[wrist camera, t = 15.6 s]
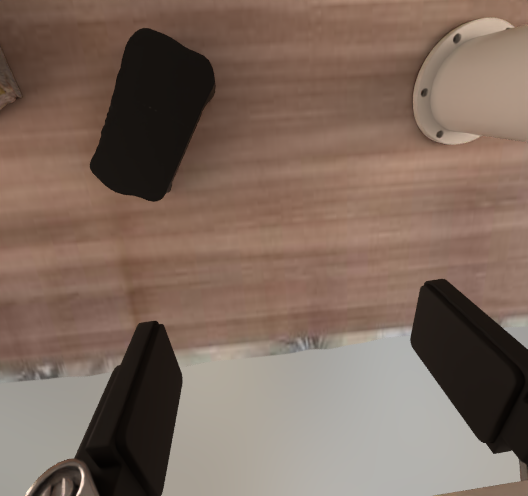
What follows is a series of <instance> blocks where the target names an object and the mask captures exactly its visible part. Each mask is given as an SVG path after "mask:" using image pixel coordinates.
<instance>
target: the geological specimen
mask: <svg viewBox="0 0 528 496" xmlns="http://www.w3.org/2000/svg"><path fill="white" fill-rule="evenodd" d="M16 97H20V98H22V95H21V92H20V90H19V88H18V86H17V84H16V81H15V79H14V77H13V74H12V72H11V70H10V68H9V66H8V64H7V61H6V58H5V56H4V54H3V51H2V49H1V47H0V110H1V109H2V108H3V107H4V106H5V105H7V104H8V103H13V102H14V101H15V100H16Z"/></svg>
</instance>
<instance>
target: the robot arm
mask: <svg viewBox="0 0 528 496" xmlns="http://www.w3.org/2000/svg"><path fill="white" fill-rule="evenodd" d="M421 91H422V93H421ZM413 111H414V117H415V120H416V122H417V125H418V127H419V128H420V130H421V131H422V132H423V134H424V135H426V136H427V137H428V138H429V139H431V140H433V141H435V142H438V143H442V144H449V145H457V144H464V143H467V142H470V141H473V140H475V139H477V138H479V137H480V136H488V137H495V138H502V139H508V140H515V141H522V142H528V24H526V25H522V26H518V27H514V26H513V25H511V24H510V23H508V22H507V21H505V20H502V19H499V18H481V19H477V20H473V21H470V22H468V23H465V24H462V25H461V26H459V27H457V28H456V29H454V30H452V31H451V32H450V33H448V34H447V35H446V36H445V37H443V38H442V39H441V40H440V41H439V42H438V44H437V45H436V46H435V47H434V48H433V49H432V51H431V52H430V54H429V55H428V57H427V58H426V59H425V61H424V63H423V65H422V67H421V69H420V71H419V74H418V77H417V80H416V83H415V87H414V93H413ZM410 340H411V345H412V347H413V349H414V350H415V352H416V353H417V355H418V356H419V357H420V359H421V360H422V362H423V363H424V364H425V366H426V367H427V369H428V370H429V371H430V373H431V374H432V376H433V377H434V378H435V380H436V381H437V383H438V384H439V385H440V387H441V388H442V389H443V391H444V392H445V394H446V395H447V396H448V398H449V399H450V401H451V402H452V403H453V405H454V406H455V408H456V409H457V410H458V412H459V413H460V415H461V416H462V417H463V419H464V420H465V421H466V423H467V424H468V426H469V427H470V428H471V430H472V431H473V433H474V434H475V436H476V437H477V438H478V439H479V440H480V441H481V442H483V443H486V444H487V446H488V447H489V448H490V450H491V451H492V452H493V454H496V453H502V452H508V451H511V450H512V451H513V452H514V453H515V454H516V456H517V457H518V458H519V463H520V478H521V481H520V482H514V483H507V484H501V485H495V486H489V487H483V488H477V489H471V490H465V491H459V492H453V493H447V494H441V495H435V496H528V349H526V348H525V347H524V346H523V345H522V344H521V343H520V342H518V341H517V340H516V339H515V338H513V337H512V336H511V335H510V334H509V333H508V332H507V331H505V330H504V329H503V328H502V327H501V326H500V325H498V324H497V323H496V322H495V321H494V320H493V319H491V318H490V317H489V316H488V315H487V314H486V313H484V312H483V311H482V310H481V309H480V308H478V307H477V306H476V305H475V304H474V303H473V302H471V301H470V300H469V299H468V298H467V297H466V296H464V295H463V294H462V293H461V292H460V291H459V290H457V289H456V288H455V287H454V286H453V285H451V284H450V283H449V282H448V281H447V280H445V279H438V280H431V281H426V282H425V283H424V286H422V287H421V288H420V292H419V297H418V302H417V308H416V313H415V318H414V323H413V328H412V333H411V339H410ZM181 388H182V373H181V370H180V368H179V365H178V362H177V359H176V357H175V354H174V351H173V349H172V346H171V343H170V341H169V338H168V335H167V332H166V330H165V327H164V325H163V324H159V323H158V322H157V321H150V322H143V323H139V324H138V326H137V328H136V330H135V332H134V335H133V337H132V339H131V342H130V344H129V346H128V349H127V351H126V353H125V356H124V358H123V360H122V363H121V365H118V366H117V367H116V368H115V369H114V371H113V372H112V375H111V377H110V379H109V381H108V384H107V386H106V388H105V391H104V393H103V395H102V397H101V399H100V402H99V404H98V407H97V408H96V411H95V413H94V415H93V417H92V420H91V422H90V424H89V427H88V429H87V431H86V433H85V435H84V438H83V440H82V442H81V444H80V447H79V449H78V451H77V454H76V456H75V458H74V459H67V460H64V461H62V462H59V463H57V464H56V465H54V466H52V467H51V468H49V469H48V470H47V471H46V472H44V473H43V474H42V475H41V476H40V477H39V478H38V479H37V480H36V481H35V482H34V484H33V485H32V486H31V487H30V488H29V490H28V491H27V493H26V495H25V496H161V495H162V492H163V488H164V482H165V476H166V471H167V465H168V460H169V455H170V448H171V443H172V438H173V433H174V427H175V422H176V416H177V410H178V405H179V399H180V394H181Z"/></svg>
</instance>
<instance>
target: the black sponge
mask: <svg viewBox="0 0 528 496" xmlns="http://www.w3.org/2000/svg"><path fill="white" fill-rule="evenodd" d="M214 93H215V77H214V72H213V68H212V66H211V64H210V62H209V60H208V59H207V58H206V57H205V56H203V55H201V54H199V53H197V52H195V51H192V50H190V49H188V48H186V47H184V46H183V45H181V44H180V43H178V42H177V41H175V40H174V39H172V38H171V37H169V36H167V35H164V34H162V33H160V32H157V31H154V30H152V29H149V28H142V29H139V30H138V31H136V32H135V33H134V34H133V35H132V36H131V37H130V39H129V41H128V42H127V44H126V47H125V51H124V54H123V58H122V63H121V68H120V71H119V73H118V76H117V79H116V85H115V90H114V93H113V96H112V99H111V106H110V107H109V112H108V113H107V118H106V120H105V125H104V126H103V129H102V131H101V138H100V141H99V145H98V147H97V149H96V152H95V154H94V156H93V157H92V159H91V162H90V169H91V171H92V173H93V174H94V175H95V176H96V177H97V178H98V179H99V180H100V181H101V182H102V183H103V184H104V185H106V186H107V187H108V188H110V189H111V190H113V191H115V192H117V193H120V194H123V195H133V196H137V197H141V198H143V199H146V200H148V201H153V202H155V201H159V200H161V199H162V198H163V197H164V195H165V194H166V193H168V192H169V191H170V190H171V186H172V181H173V179H174V177H175V175H176V172H177V170H178V168H179V165H180V163H181V161H182V158H183V156H184V154H185V151H186V149H187V147H188V144H189V142H190V139H191V137H192V135H193V133H194V130H195V128H196V126H197V123H198V121H199V119H200V116H201V114H202V111H203V109H204V107H205V106H206V105H207V103H208V102H209V101H210V100H211V99H212V97H213V96H214Z"/></svg>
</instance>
